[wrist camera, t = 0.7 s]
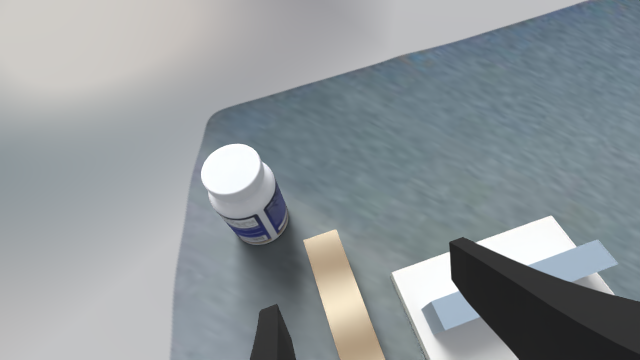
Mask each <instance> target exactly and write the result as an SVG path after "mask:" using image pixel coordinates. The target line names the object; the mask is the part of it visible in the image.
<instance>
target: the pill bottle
mask: <svg viewBox="0 0 640 360" xmlns="http://www.w3.org/2000/svg"><path fill="white" fill-rule="evenodd" d="M201 178H202V182H203V184H204V186H205V187H206V189H207V190H208V194H209V199H210V202H211V204H212V206H213V208H214V209H215V210H216V211H217V213H218V214H219V215H220V216H221V217H222V218H223V219H224V221H225V222H226V223H227V224H228V225H229V226H230V227H231V229H232V230H233V231H234V232H235V233H236V234H237V235H238V236H239V237H240V238H241V239H242V240H243V241H245V242H247V243H249V244H253V245H262V244H266V243H269V242H271V241H273V240H275V239H276V238H278V237H279V236H280V235H281V234H282V232H283V231H284V229H285V228H286V225H287V222H288V209H287V206H286V204H285V201H284V199H283V197H282V194H281V192H280V189H279V187H278V184H277V182H276V179H275V177H274V175H273V173H272V171H271V170H270V168H269V167H268V166H267V165H266V164H264V163H263V162H262V161H261V159H260V157H259V155H258V154H257V152H256V151H255V150H254V149H252V148H251V147H249V146H247V145H243V144H231V145H227V146H224V147H222V148H220V149H218V150H216V151H215V152H213V153H212V154H211V155H210V156H209V157H208V158H207V160H206V161H205V163H204V165H203V167H202V172H201Z"/></svg>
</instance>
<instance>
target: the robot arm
mask: <svg viewBox="0 0 640 360" xmlns="http://www.w3.org/2000/svg"><path fill="white" fill-rule="evenodd" d="M449 246H450V266H451V280H452V281H453V283H454V284H455V286H456V287H457V288H458V290H459V291H460V293H461V294H462V295H463V297H464V298H465V300H466V301H467V302H468V303H469V304H470V306H471V307H472V308H473V309H474V310H475V311H476V312H477V313H478V315H479V316H480V317H481V318H482V319H483V320H484V321H485V322H486V323H487V324H488V326H489V327H490V328H491V329H492V330H493V331H494V332H495V333H496V334H497V335H498V337H499V338H500V339H501V340H502V341H503V342H504V343H505V344H506V345H507V346H508V348H509V349H510V350H511V351H512V352H513V353H514V354H515V356H516V357H517V358H518V359H519V360H640V302H639V301H634V300H630V299H626V298H623V297H619V296H615V295H611V294H608V293H604V292H601V291H597V290H594V289H590V288H587V287H584V286H581V285H578V284H575V283H572V282H569V281H566V280H563V279H560V278H557V277H555V276H552V275H549V274H547V273H544V272H542V271H539V270H536V269H534V268H531V267H529V266H527V265H524V264H522V263H519V262H517V261H515V260H512V259H510V258H508V257H506V256H503V255H501V254H499V253H497V252H495V251H492V250H490V249H488V248H486V247H484V246H482V245H479V244H477V243H475V242H473V241H471V240H468V239H466V238H464V237H462V238H459V239H456V240H454V241H451V242H449ZM250 360H296V358H295V353H294V349H293V344H292V340H291V337H290V335H289V332H288V330H287V327H286V325H285V322H284V320H283V317H282V315H281V313H280V310H279V308H278V305H277V304H276V305H273V306H270V307H268V308H265V309H262V310H261V311H260V313H259V320H258V326H257V331H256V336H255V340H254V345H253V349H252V353H251V357H250Z"/></svg>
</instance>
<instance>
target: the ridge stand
mask: <svg viewBox="0 0 640 360" xmlns="http://www.w3.org/2000/svg"><path fill="white" fill-rule="evenodd" d="M476 243H477V244H479V245H482V246H484V247H486V248H488V249H490V250H492V251H495V252H497V253H499V254H501V255H503V256H506V257H508V258H510V259H512V260H515V261H517V262H519V263H522V264H524V265H527V266H529V267H531V268H534V269H536V270H539V271H542V272H544V273H547V274H549V275H552V276H555V277H557V278H560V279H563V280H566V281H569V282H572V283H575V284H578V285H581V286H584V287H587V288H590V289H594V290H597V291H601V292H604V293H608V294H611V295H614V293H613V292H612V291H611V290H610V288H609V287H608V286H607V285H606V283H605V282H604V281H603V280H602V278H601V277H600V276H599V274H598V273H597V272H598V271H601V270H604V269H606V268H609V267H612V266H614V265H617V264H618V263H617V262H616V260H615V259H614V258H613V257H612V256H611V255H610V253H609V252H608V251H607V250H606V249H605V247H604V246H603V245H602V244H601V243H600V242H599V240H598V239H597V240H595V241H592V242H589V243H586V244H584V245H581V246H578V247H576V246H575V244H574V243H573V242H572V241H571V239H570V238H569V237H568V236H567V234H566V233H565V232H564V231H563V229H562V228H561V227H560V226H559V224H558V223H557V222H556V221H555V219H554V218H553V217H552V216H548V217H546V218H543V219H540V220H537V221H535V222H532V223H529V224H526V225H523V226H521V227H518V228H515V229H512V230H509V231H507V232H504V233H501V234H498V235H495V236H493V237H490V238H487V239H484V240H481V241H479V242H476ZM390 277H391V279H392V282H393V284H394V286H395V288H396V291H397V293H398V295H399V297H400V300H401V302H402V304H403V306H404V309H405V311H406V313H407V316H408V318H409V320H410V322H411V325H412V327H413V329H414V331H415V334H416V336H417V338H418V341H419V343H420V345H421V347H422V350H423V352H424V354H425V356H426V359H427V360H519V359H518V358H517V357H516V356H515V354H514V353H513V352H512V351H511V350H510V349H509V348H508V346H507V345H506V344H505V343H504V342H503V341H502V340H501V339H500V338H499V337H498V335H497V334H496V333H495V332H494V331H493V330H492V329H491V328H490V327H489V326H488V324H487V323H486V322H485V321H484V320H483V319H482V318H481V317H480V316H479V315H478V313H477V312H476V311H475V310H474V309H473V308H472V307H471V306H470V304H469V303H468V302H467V301H466V300H465V298H464V297H463V295H462V294H461V293H460V291H459V290H458V288H457V287H456V286H455V284H454V283H453V281H452V280H451V266H450V252H448V253H445V254H442V255H439V256H437V257H434V258H431V259H428V260H426V261H423V262H420V263H417V264H414V265H412V266H409V267H406V268H403V269H400V270H398V271H395V272H392V273H391V275H390Z"/></svg>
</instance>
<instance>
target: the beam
mask: <svg viewBox="0 0 640 360" xmlns="http://www.w3.org/2000/svg"><path fill="white" fill-rule="evenodd" d="M303 241H304V244H305V247H306V250H307V254H308V257H309V260H310V263H311V267H312V270H313V273H314V276H315V280H316V283H317V286H318V289H319V293H320V296H321V299H322V302H323V306H324V309H325V312H326V315H327V318H328V322H329V325H330V328H331V331H332V335H333V338H334V341H335V344H336V348H337V351H338V354H339V357H340V360H385V358H384V355H383V353H382V350H381V347H380V345H379V342H378V339H377V337H376V334H375V331H374V329H373V326H372V323H371V321H370V318H369V315H368V313H367V310H366V307H365V305H364V302H363V299H362V297H361V294H360V291H359V289H358V286H357V283H356V281H355V278H354V275H353V273H352V270H351V267H350V265H349V262H348V259H347V257H346V254H345V252H344V249H343V246H342V244H341V241H340V238H339V236H338V233H337V230H333V231H330V232H327V233H324V234H321V235H318V236H315V237H312V238H309V239H306V240H303Z"/></svg>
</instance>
